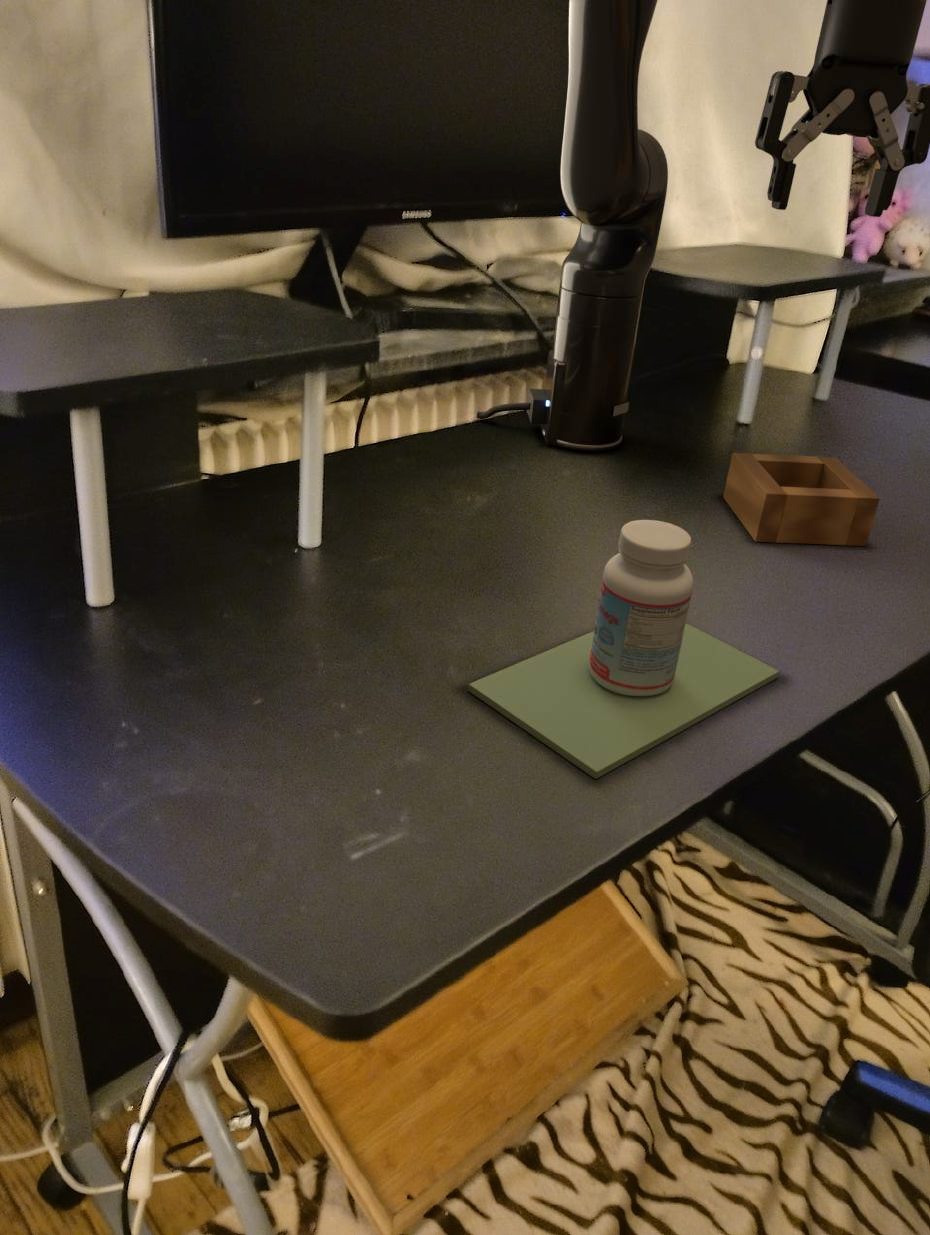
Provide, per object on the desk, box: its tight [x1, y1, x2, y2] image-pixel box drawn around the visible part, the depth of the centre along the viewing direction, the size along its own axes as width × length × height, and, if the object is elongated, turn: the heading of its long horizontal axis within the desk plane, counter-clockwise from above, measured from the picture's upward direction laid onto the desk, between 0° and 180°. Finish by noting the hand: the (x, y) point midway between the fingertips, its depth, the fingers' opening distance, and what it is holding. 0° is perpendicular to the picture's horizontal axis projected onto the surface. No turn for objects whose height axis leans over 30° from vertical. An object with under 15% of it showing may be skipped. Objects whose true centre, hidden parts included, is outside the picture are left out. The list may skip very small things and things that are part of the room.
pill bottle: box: [589, 519, 694, 696], centre depth 67 cm, size 6×6×11 cm
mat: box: [467, 622, 780, 780], centre depth 70 cm, size 20×12×1 cm, turn 131°
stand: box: [722, 452, 881, 547], centre depth 98 cm, size 11×11×5 cm
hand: (825, 212), depth 86 cm, fingers open, 8 cm apart
